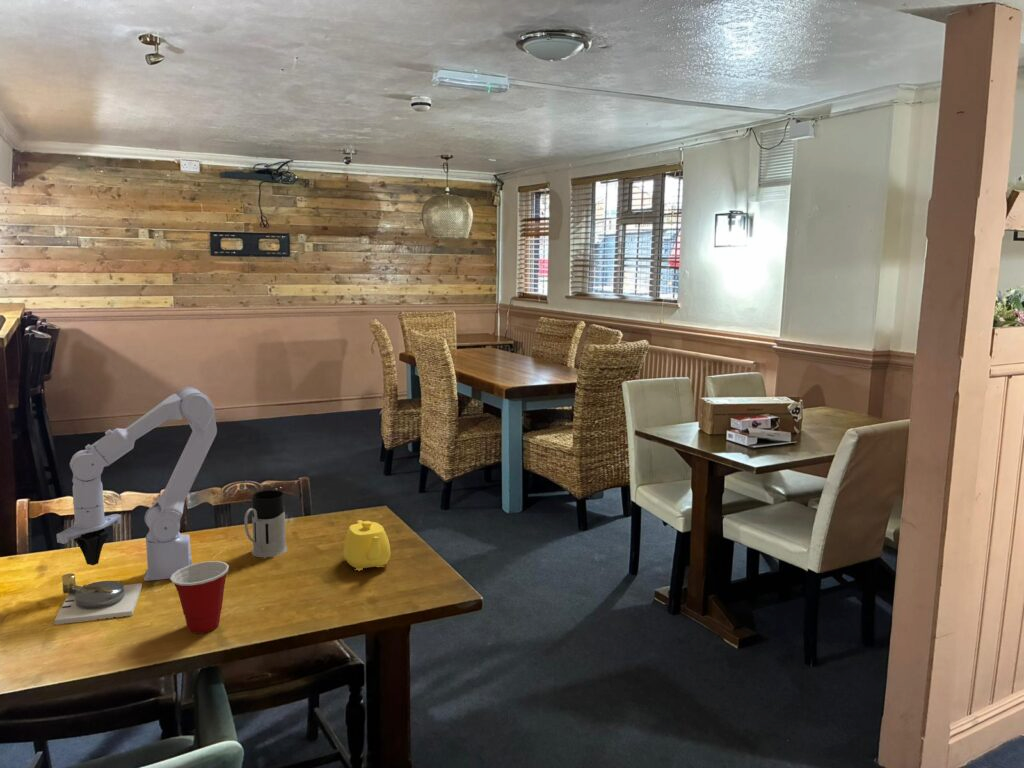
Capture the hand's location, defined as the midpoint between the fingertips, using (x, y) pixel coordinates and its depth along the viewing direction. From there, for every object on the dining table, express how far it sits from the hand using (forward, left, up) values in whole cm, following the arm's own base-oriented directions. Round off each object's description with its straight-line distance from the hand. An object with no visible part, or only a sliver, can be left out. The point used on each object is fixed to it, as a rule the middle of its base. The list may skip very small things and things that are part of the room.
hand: (92, 563), depth 165 cm
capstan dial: (-1, +9, -4) cm, 9 cm away
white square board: (-3, +10, -5) cm, 12 cm away
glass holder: (-36, -9, -6) cm, 38 cm away
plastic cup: (-24, +26, -6) cm, 36 cm away
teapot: (-60, +4, -6) cm, 61 cm away
